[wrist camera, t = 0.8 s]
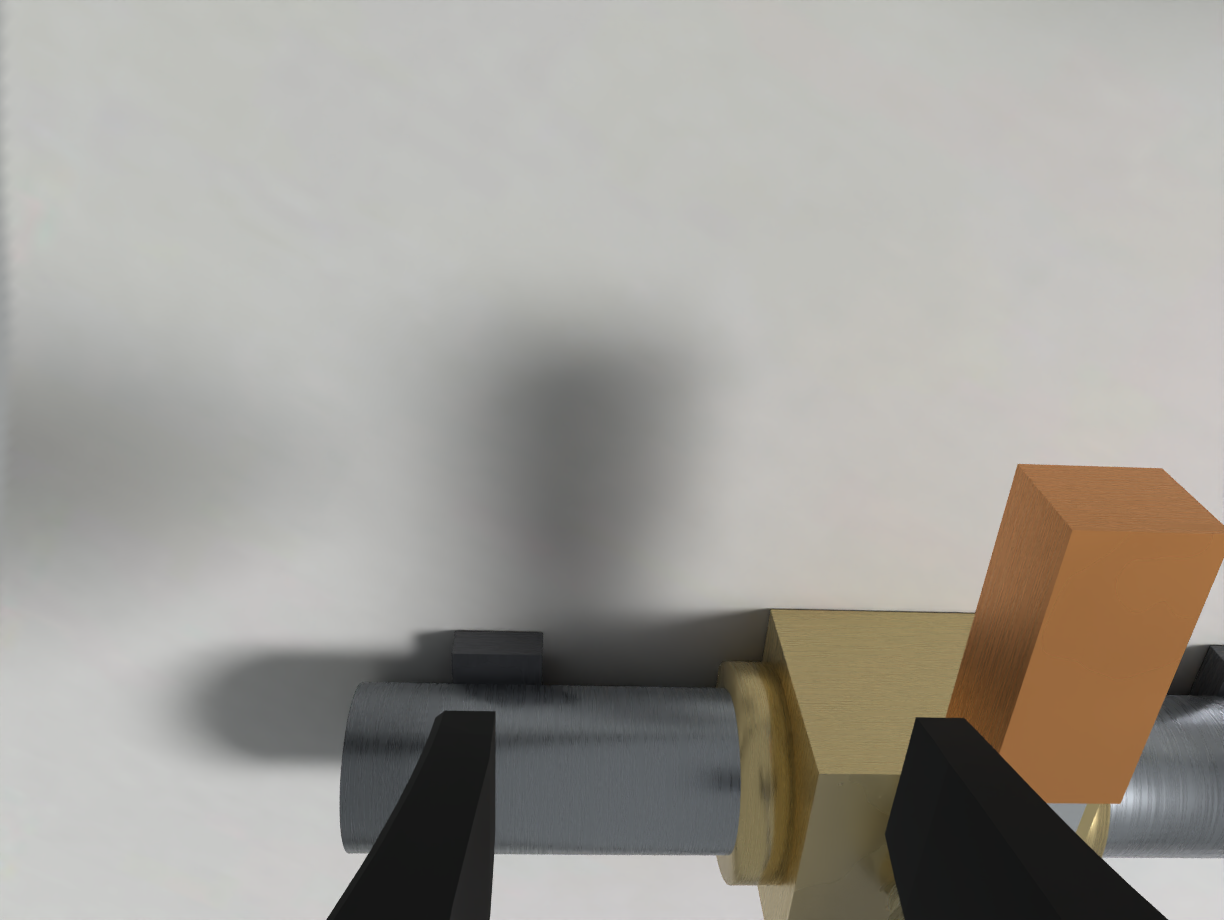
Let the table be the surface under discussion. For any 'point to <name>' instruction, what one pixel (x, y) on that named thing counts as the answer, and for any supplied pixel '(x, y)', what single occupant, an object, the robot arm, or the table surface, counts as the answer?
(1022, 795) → the robot arm
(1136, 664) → the valve lever
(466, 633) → the valve pipe
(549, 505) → the table surface
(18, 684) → the table surface
